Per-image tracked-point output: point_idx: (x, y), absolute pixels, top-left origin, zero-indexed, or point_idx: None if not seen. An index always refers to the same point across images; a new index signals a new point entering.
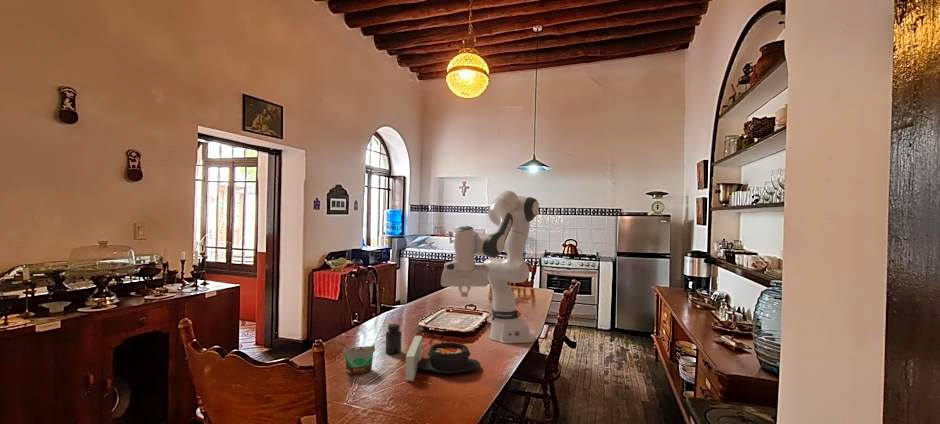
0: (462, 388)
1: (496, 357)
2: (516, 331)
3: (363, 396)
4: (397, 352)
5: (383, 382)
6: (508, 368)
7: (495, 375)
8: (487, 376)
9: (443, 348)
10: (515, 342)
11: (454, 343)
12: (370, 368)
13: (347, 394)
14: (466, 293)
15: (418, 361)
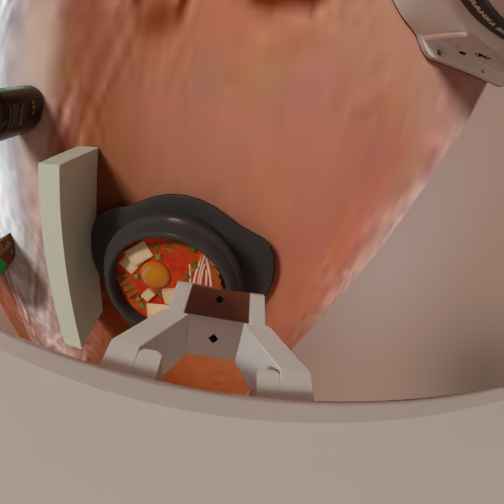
0: (206, 356)
1: (356, 184)
2: (486, 55)
3: (49, 343)
4: (32, 127)
5: (53, 304)
6: (352, 276)
7: (299, 312)
8: (277, 315)
9: (149, 238)
10: (459, 69)
11: (187, 243)
12: (10, 255)
13: (27, 331)
14: (236, 357)
15: (90, 236)
